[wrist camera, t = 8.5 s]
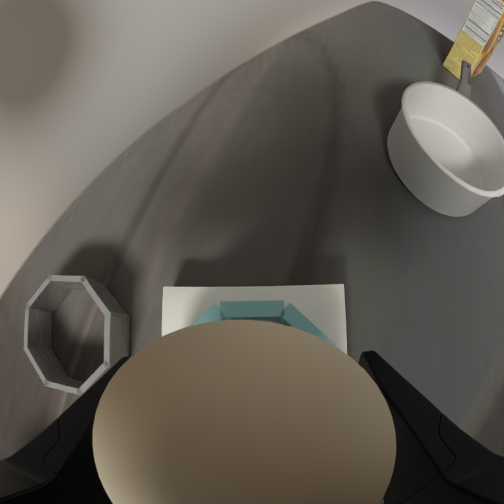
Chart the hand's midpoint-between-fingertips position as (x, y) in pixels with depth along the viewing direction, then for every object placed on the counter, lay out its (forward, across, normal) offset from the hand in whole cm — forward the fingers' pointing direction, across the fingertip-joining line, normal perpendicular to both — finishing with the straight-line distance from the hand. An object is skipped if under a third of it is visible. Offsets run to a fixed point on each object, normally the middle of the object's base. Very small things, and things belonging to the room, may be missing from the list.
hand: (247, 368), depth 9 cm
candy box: (+30, -31, -16) cm, 47 cm away
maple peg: (+4, 0, +6) cm, 8 cm away
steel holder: (+8, +12, +6) cm, 16 cm away
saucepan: (+20, -19, -6) cm, 28 cm away
